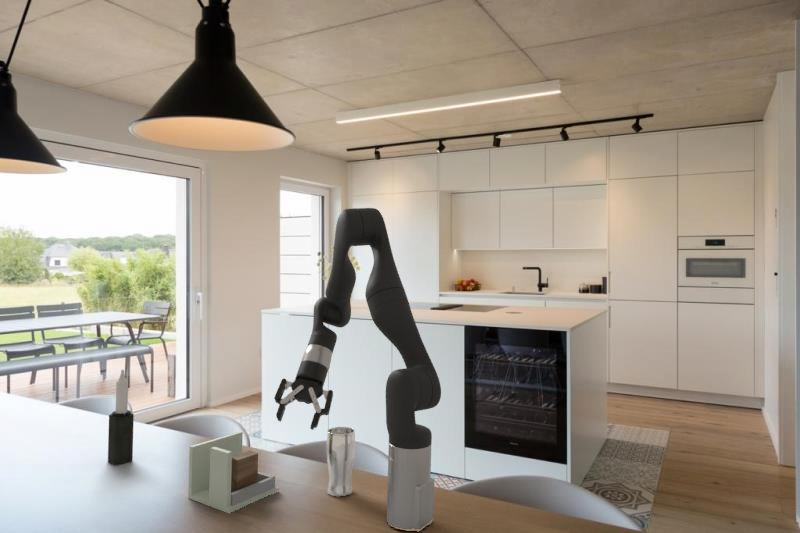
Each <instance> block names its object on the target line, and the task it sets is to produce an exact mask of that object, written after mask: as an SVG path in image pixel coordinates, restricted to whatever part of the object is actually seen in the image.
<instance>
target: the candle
mask: <svg viewBox="0 0 800 533" xmlns="http://www.w3.org/2000/svg"><path fill="white" fill-rule="evenodd" d="M128 401H129V381H128V379H127V378H126V375H125V370H124V369H121V370H120V375H119V378H118V379H117V381H116V385H115V410H114V411H112V412H111V413H110V414H108V438H107V439H108V440H107V441H108V446H107V448H108V449H107V463H109V464H110V463H111V464H110V465H112V464H113V466H120V465H123V464H127V463H131V462H133V458H134V457H133V455H134V454H133V453H134V452H133V451H134V450H133V448H134V421H135V420H134V418H135V417H134V416H135V414H134V413H131V412H132V411H131V410H129V409H128V405H129V404H128Z"/></svg>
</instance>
